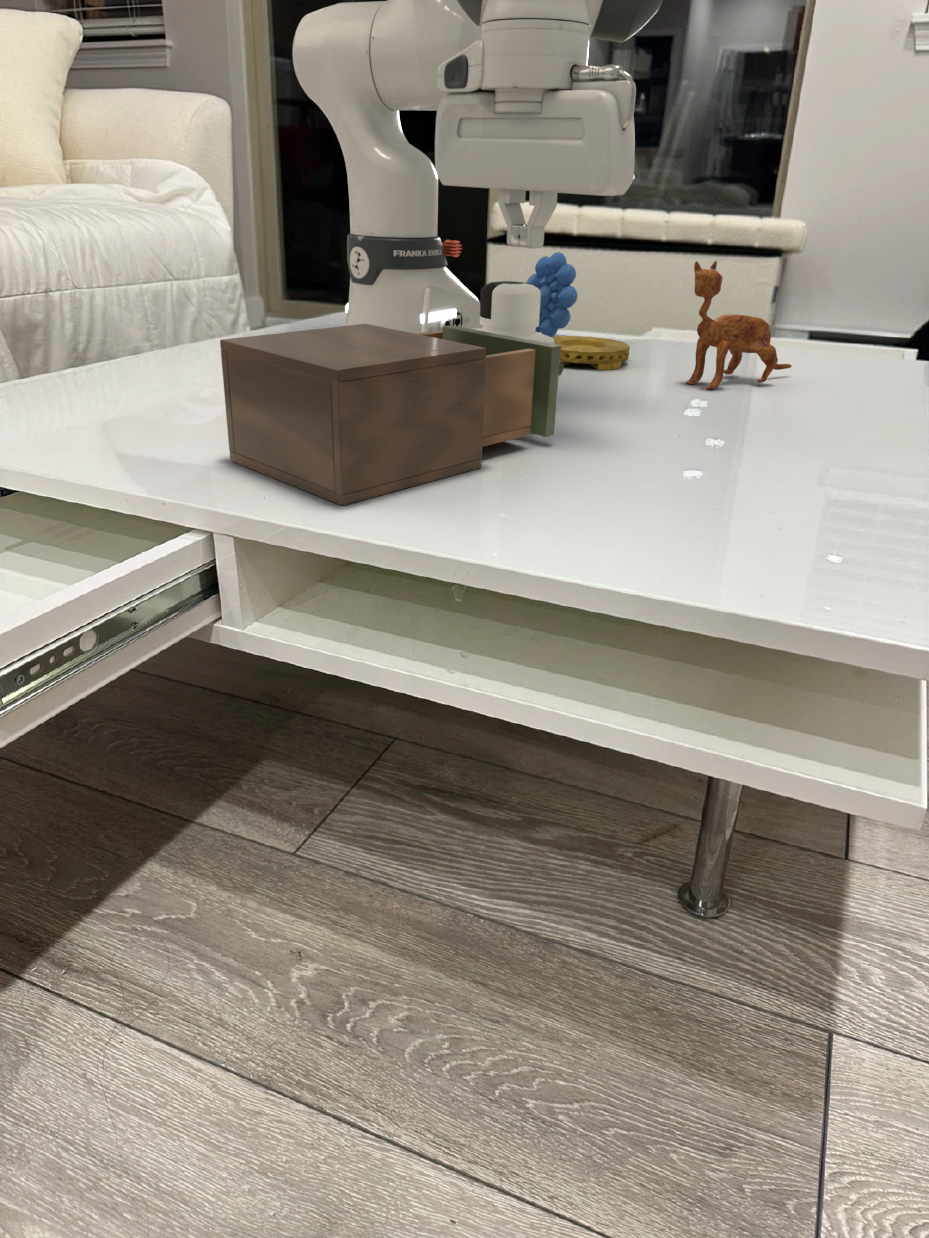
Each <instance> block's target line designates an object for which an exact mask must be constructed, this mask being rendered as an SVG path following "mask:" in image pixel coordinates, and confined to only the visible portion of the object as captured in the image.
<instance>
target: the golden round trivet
mask: <svg viewBox="0 0 929 1238" xmlns="http://www.w3.org/2000/svg"><path fill="white" fill-rule="evenodd" d="M552 338H553V339H554V345H559V346H561V350H560V361H561V362H562V363H563V367H564V366H567V365H570V364H571V363H572V364H589V366H590V367H591V368H594V369H596V370H597V371H604V370H605V371H608V370H609V371H610V370H617V369H621V368H622V363H623V362H626V361H628V360H629V359H630V358H629V357H630V356H629V355H630V349H631V347H630V346H631V345H630V344H628V343H626V342H623V341H621V340H616V339H611V338H604V337H597V336H583V335H558V336H557V335H556V336H553V337H552Z"/></svg>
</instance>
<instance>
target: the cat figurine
mask: <svg viewBox="0 0 929 1238" xmlns="http://www.w3.org/2000/svg"><path fill="white" fill-rule="evenodd" d="M693 265H694V266H693V272H694V295H695V296H697V297H700V298H703V299H704V300H703V303H702V304H701V306H700V308H699V311H698V315H699V317H700V318H701V319H702V320H701V321H700V323H699V324H698V325H697V328H696V333H697V335H698V337H699V338H698V339H697V341H696V348H695V365H694V369H693V372H692V375H691V376H690V377H689V378H688V379H687V380H685V383H686V384H689V385H695V384H697V383H699V382H700V381H701V379H702V378H703V375H704V372H705V365H706V355H707V352H708V350H709V348H710V347H713V348H716V357H715V372H714V376H713V378H712V380H711V382H710V384H708V385H707V386H705V387H704V388H705V389H707V390H715V389H717V388H718V387H719V386H720V385H721V383H722V381H723V378H724V375H728V376H729V375H733V373H734V372H735V370H736V369H737V368H738V366H739V365H740V364H741V362H742V360H743V353H744V354H757V356H758V357H759V359H760V360H761V362H763V363H764V365H765V368H764V370H763V372H762V374H761V377H760V378H757V380H756V383H757V384H759V383H760V384H761V383H765V382H766V381H767V379H768V377H769V376H770V374H771V373H772V372H773V370H775V371H780V370H786V369H791V368H792V364H790V363H778V362H779V358H778V354H777V349H776V347H775V346H774V345H773V344H771V338H772V334H771V333H772V332H771V326H770V324H769V323H768V322H767V321H766V320H764V319H763V318H761V317H757V316H752V315H745V314H739V313H732V312H731V313H724V314H722V315H720V316H718V317H716V318H714V319H712V318H711V317H709V315H708V312H709V309H710V307H711V304H712V301H713V300H712V299H713V298H714V297H716V296H717V295H719V294H720V293H721V289H722V283H723V279H724V278H723V275H722V274H721V273H719V271H718V270H717V266H718V261H717V260H715V261H714V262H713V263H712V264H711V266H710V267H709V268H702V267H701V265H700V263H699V261H697V260H696V261H695V262H694V264H693ZM728 352H729V353H730V354H731V358H730V360H729V362H728V365H727V368H726V369H725V366H726V365H725V364H726V358H727V355H728Z"/></svg>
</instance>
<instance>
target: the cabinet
mask: <svg viewBox="0 0 929 1238" xmlns="http://www.w3.org/2000/svg"><path fill="white" fill-rule="evenodd" d="M219 344H220V345H219V346H220V357H221V370H222V381H223V382H222V383H223V392H224V404H225V414H226V415H225V416H226V428H227V439H228V440H227V441H228V450H229V460H230V462H233V463H235V464H238V465H240V466H243V467H245V468H248V469H250V470H253V471H255V472H258V473H260V474H263V475H265V476H267V477H270V478H273V479H275V480H277V481H280V482H283V483H285V484H287V485H290V486H293V487H295V488H297V489H300V490H302V491H305V492H307V493H310V494H313V495H314V496H317V497H320V498H322V499H324V500H327V501H329V502H332V503H335V504H337V505H339V506H346V505H350V504H354V503H357V502H360V501H361V502H362V501H365V500H368V499H371V498H376V497H379V496H382V495H386V494H390V493H393V492H397V491H400V490H401V491H402V490H405V489H408V488H412V487H415V486H418V485H423V484H427V483H430V482H433V481H437V480H441V479H444V478H449V477H452V476H456V475H460V474H462V473H466V472H470V471H474V470H477V469H480V468H482V465H483V464H482V461H483V447H482V444H483V420H484V395H485V371H486V348H484V347H479V346H474V345H469V344H464V343H459V342H454V341H449V340H444V339H439V338H434V337H429V336H424V335H419V334H414V333H409V332H404V331H399V330H394V329H389V328H384V327H379V326H374V325H369V324H358V325H349V326H345V325H341V326H333V327H332V326H331V327H322V328H314V329H304V330H295V331H287V332H286V331H285V332H277V333H269V334H258V335H250V336H243V337H233V338H222V339H220V340H219Z"/></svg>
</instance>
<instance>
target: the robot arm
mask: <svg viewBox="0 0 929 1238" xmlns="http://www.w3.org/2000/svg"><path fill="white" fill-rule="evenodd" d="M662 3H663V0H381V1H380V0H378V1H355V2H354V1H352V2H338V3H336V4H335V3H334V4H332V5H329V6H326V7H322V8H320V9H317V10H314V11H311V12H309V13H307V14H305V15H304V16H303V17H302V19H301V20H300V22H299V23H298V25H297V27H296V30H295V33H294V36H293V41H292V65H293V67H294V68H293V69H294V72H295V76H296V78H297V81H298V82H299V85H300V87H301V88H302V90H303V92H304V93H305V94H306V95H307V97H308V98H309V99H310V100H311V101H313V102H314V103H315V105H317V107H318V108H319V109H320V110H321V111H322V112H323V115H325V117H326V118H327V119H328V122H329V124H330V125H331V127H332V129H333V131H334V133H335V135H336V138H337V141H338V142H339V145H340V148H341V151H342V155H343V159H344V163H345V169H346V174H347V177H346V178H347V187H348V188H347V189H348V199H349V200H348V201H349V203H348V204H349V227H350V228H349V229H350V232H349V234H347V236H346V238H347V239H346V255H347V256H346V260H347V262H346V263H347V267H348V272H349V292H348V302H347V303H346V305H345V306H344V310H345V311H344V312H345V313H346V320H345V325H344V326H349V325H358V324H369V325H374V326H379V327H384V328H389V329H394V330H399V331H404V332H409V333H414V334H417V333H425V332H433V331H440V332H442V328H443V326H450V325H452V326H458V327H463V328H468V329H473V328H483V325H481V324H480V300H479V298H478V297H477V296H476V295H475V294H474V293H473V292H472V291H470V290H469V288H468V287H467V286H465V285H464V283H462V281H460V279H458V277H457V276H456V275H455V274H454V273H453V272H451V270H450V269H449V268H448V267H447V266H448V260H447V257H449V256H450V257H453V258H458V257H459V256H461V253H462V250H463V248H462V247H463V245H462V244H460V243H461V242H460V240H455V239H454V240H451V239H445V240H444V241H443V242H442V239H441V237H440V236H438V228H439V227H438V225H439V223H438V219H439V217H438V215H439V182H440V183H441V185H442V186H448V187H450V186H451V187H463V188H464V187H465V188H479V189H494V190H498V191H497V192H498V194H497V195H498V196H497V204H498V207H499V209H500V211H501V215H502V217H503V220H504V222H505V224H506V225H507V227H506V244H507V246H509V247H517V248H526V249H532V250H533V249H534V250H535V249H541V248H543V246H544V244H545V243H544V242H545V227H546V226H547V225H548V223H549V221H550V219H551V218H552V216H553V214H554V212H555V210H556V208H557V207H558V206H557V205H558V194H570V195H571V194H572V195H585V196H602V197H603V196H604V197H605V196H606V197H608V196H609V197H614V196H615V197H616V196H623V195H625V194H626V192H628V190H629V188H630V187H631V185H632V184H633V181H634V177H635V162H636V161H635V160H636V159H635V158H636V155H635V154H636V152H635V151H636V140H635V138H636V137H635V136H636V135H635V117H634V114H635V107H636V98H637V97H636V96H637V86H636V83H635V81H634V79H633V77H632V76H631V74H630V73H629V72H627V71H626V70H624V67H623V66H622V65H621V64H616V63H612V64H611V63H610V64H605V65H593V64H589V63H588V62H589V49H590V39H595V40H601V41H606V42H607V41H609V42H615V43H624V42H626V41H627V40H629V39H631V38H632V37H633V36H634V35H636V34H637V33H638V32H640V30H642V29H643V28H644V26H646V25H647V24H648V23H649V22H650V20H652V18H654V16H655V15H656V14H657V13H658V11H659V10H660V7H661V6H662ZM588 64H589V65H588ZM622 78H624V80H622ZM400 111H429V112H430V111H431V112H432V111H435V112H436V116H435V130H434V163H433V161H432V160H431V159H430V157H428V156H427V155H426V154H425V153H424V152H423V151H421V150H420V149H418V148H417V147H415V146H413V145H412V144H411V143H409V140H408V139H407V138H406V136H405V134H404V131H403V129H402V123H401V119H400ZM526 192H529V198H528V199H529V200H528V204H529V206H533V208H532V211H531V213H530V216H529V218H528V220H527V223H526V220H525V215H524V212H523V209H522V206H521V204H525V203H526V195H527V193H526Z"/></svg>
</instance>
